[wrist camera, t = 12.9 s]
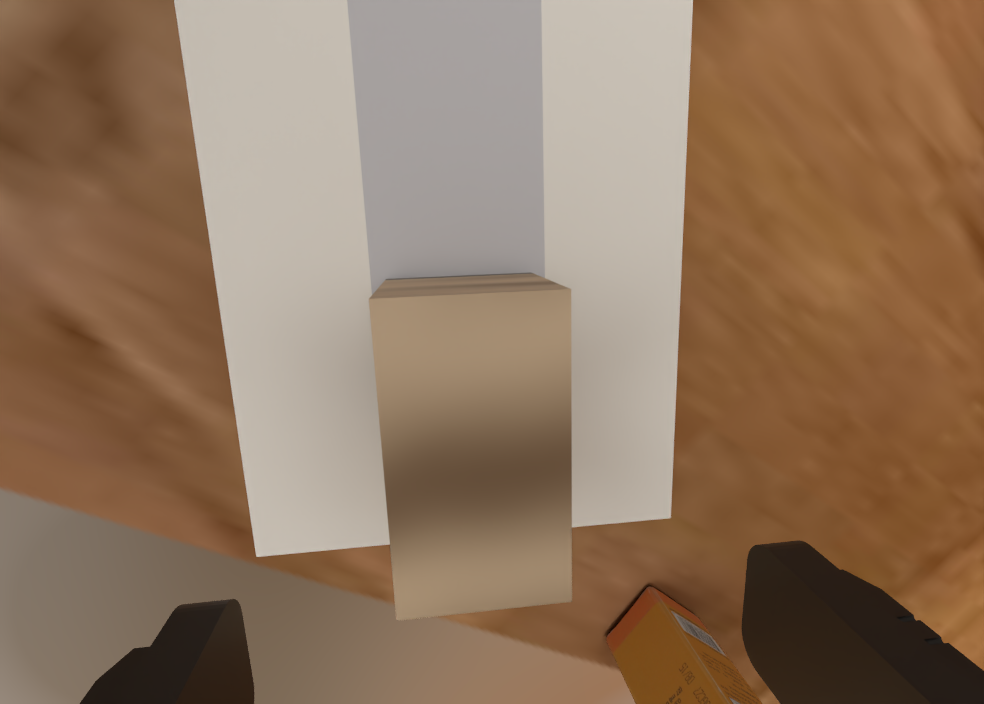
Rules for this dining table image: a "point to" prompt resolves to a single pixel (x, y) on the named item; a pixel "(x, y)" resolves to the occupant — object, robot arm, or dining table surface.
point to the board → (437, 223)
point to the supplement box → (673, 656)
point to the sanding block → (475, 440)
